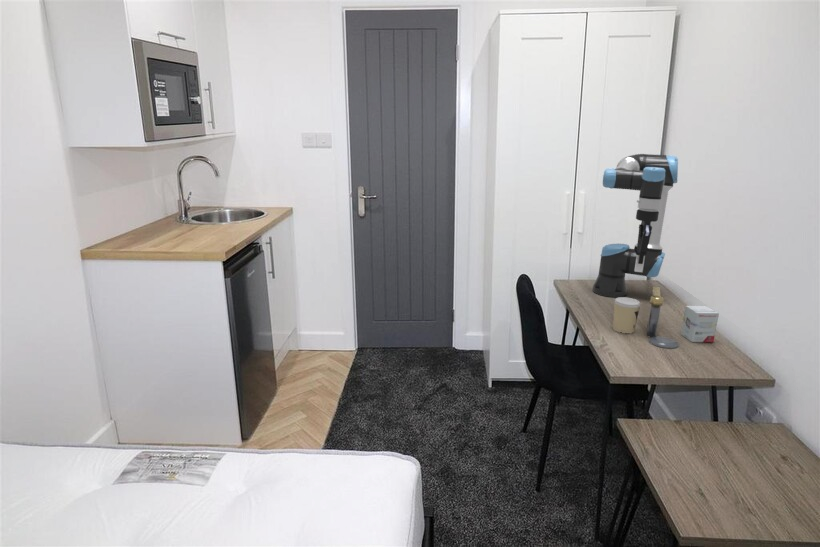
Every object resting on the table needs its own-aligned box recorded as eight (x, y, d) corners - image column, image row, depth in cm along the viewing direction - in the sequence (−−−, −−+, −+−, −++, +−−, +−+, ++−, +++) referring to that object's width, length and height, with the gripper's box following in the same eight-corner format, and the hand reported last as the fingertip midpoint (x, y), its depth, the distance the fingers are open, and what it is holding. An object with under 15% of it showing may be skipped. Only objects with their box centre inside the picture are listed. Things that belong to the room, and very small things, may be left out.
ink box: (701, 334, 210) (707, 305, 207) (713, 342, 202) (720, 313, 199) (679, 333, 210) (684, 304, 207) (691, 342, 202) (697, 312, 199)
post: (647, 333, 209) (652, 302, 206) (656, 335, 207) (661, 304, 204) (645, 336, 206) (650, 304, 203) (654, 338, 205) (660, 306, 201)
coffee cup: (638, 335, 206) (643, 305, 203) (612, 333, 208) (616, 303, 205) (633, 326, 215) (638, 298, 212) (609, 324, 217) (613, 295, 214)
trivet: (650, 335, 207) (651, 334, 207) (679, 341, 202) (680, 340, 202) (646, 344, 199) (647, 342, 198) (676, 350, 194) (677, 349, 194)
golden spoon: (661, 293, 216) (662, 287, 216) (662, 306, 201) (664, 299, 200) (649, 291, 218) (650, 285, 217) (649, 304, 202) (651, 298, 201)
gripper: (634, 206, 208) (625, 266, 214) (639, 211, 196) (630, 274, 202) (656, 208, 206) (646, 268, 212) (662, 212, 194) (651, 276, 200)
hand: (638, 271), depth 207 cm, fingers closed
